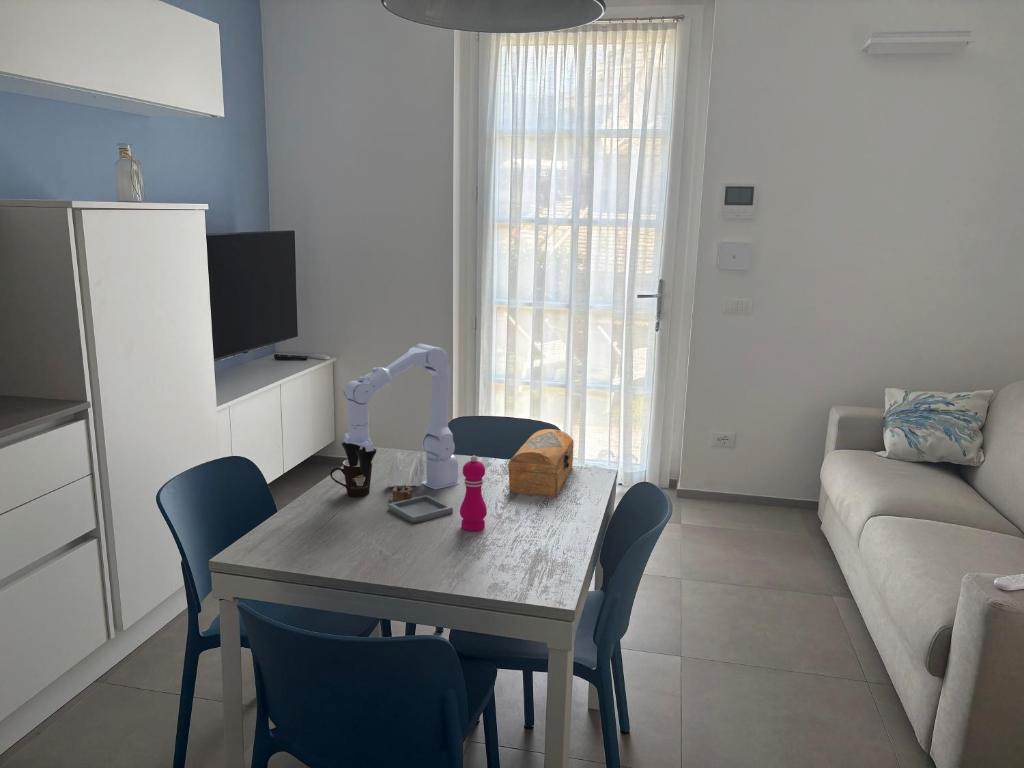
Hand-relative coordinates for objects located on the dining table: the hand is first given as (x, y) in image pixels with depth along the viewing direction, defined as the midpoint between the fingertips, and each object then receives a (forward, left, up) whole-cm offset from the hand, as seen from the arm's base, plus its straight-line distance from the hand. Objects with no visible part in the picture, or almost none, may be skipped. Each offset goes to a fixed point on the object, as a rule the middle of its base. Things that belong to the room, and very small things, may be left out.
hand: (359, 469), depth 225 cm
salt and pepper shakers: (-18, -5, -10) cm, 22 cm away
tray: (-10, +16, -10) cm, 21 cm away
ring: (-11, +5, -10) cm, 16 cm away
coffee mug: (-2, -8, -10) cm, 13 cm away
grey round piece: (-11, +5, -10) cm, 16 cm away
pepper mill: (-15, +34, -10) cm, 39 cm away
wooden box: (-57, +16, -11) cm, 60 cm away
